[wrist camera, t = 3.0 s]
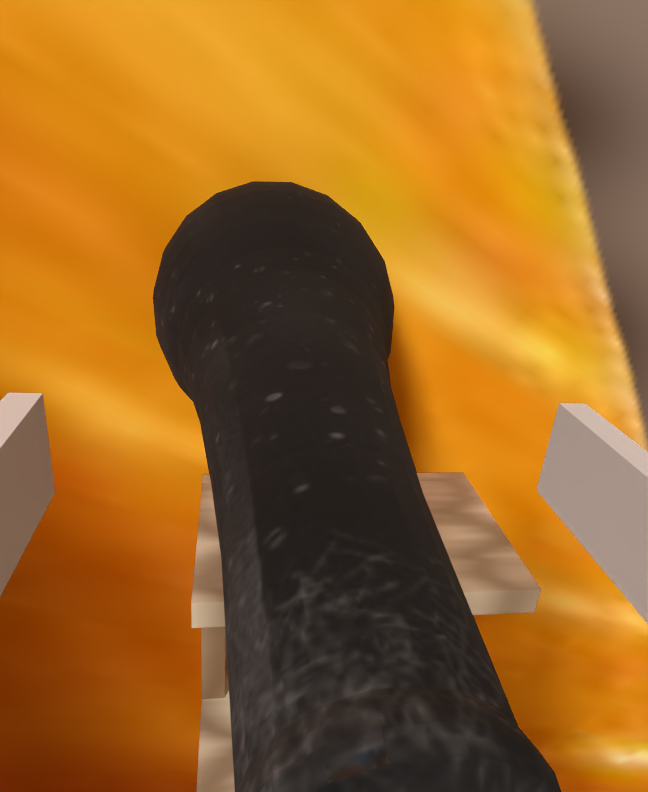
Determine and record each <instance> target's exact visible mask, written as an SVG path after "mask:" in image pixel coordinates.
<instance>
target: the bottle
mask: <svg viewBox="0 0 648 792" xmlns="http://www.w3.org/2000/svg"><path fill="white" fill-rule="evenodd" d="M153 303H154V314H155V325H156V335H157V338H158V341H159V344H160V346H161V349H162V351H163V353H164V355H165V358H166V360H167V362H168V365H169V367H170V369H171V371H172V374H173V376H174V378H175V380H176V381H177V383H178V385H179V386H180V388H181V389H182V390H183V391H184V392H185V393H186V394H187V395H188V397H189V398H190V399H191V400H192V401H193V402H194V405H195V408H196V411H197V414H198V417H199V420H200V424H201V429H202V435H203V441H204V446H205V452H206V458H207V463H208V469H209V474H210V480H211V486H212V494H213V501H214V508H215V515H216V523H217V530H218V537H219V545H220V552H221V561H222V578H223V595H224V613H225V630H226V647H227V665H228V682H229V699H230V717H231V734H232V751H233V769H234V786H235V792H561V790H560V787H559V784H558V781H557V778H556V775H555V773H554V771H553V770H552V768H551V767H550V766H549V764H548V763H547V762H546V760H545V759H544V757H543V756H542V755H541V753H540V752H539V751H538V749H537V748H536V747H535V746H534V745H533V744H532V742H531V741H530V740H529V739H528V738H527V737H526V735H525V734H524V733H523V732H522V731H521V730H520V728H519V727H518V725H517V722H516V720H515V718H514V715H513V713H512V710H511V708H510V705H509V703H508V700H507V698H506V695H505V693H504V691H503V688H502V686H501V683H500V681H499V678H498V676H497V673H496V671H495V668H494V666H493V664H492V661H491V659H490V656H489V654H488V651H487V649H486V646H485V644H484V641H483V639H482V637H481V634H480V632H479V629H478V627H477V624H476V622H475V619H474V617H473V614H472V612H471V610H470V607H469V605H468V602H467V600H466V597H465V595H464V592H463V590H462V587H461V585H460V583H459V580H458V578H457V575H456V573H455V570H454V568H453V565H452V563H451V560H450V558H449V556H448V553H447V551H446V548H445V546H444V543H443V541H442V538H441V536H440V533H439V531H438V529H437V526H436V524H435V521H434V519H433V516H432V514H431V511H430V509H429V506H428V504H427V502H426V499H425V497H424V494H423V491H422V488H421V485H420V482H419V479H418V476H417V472H416V469H415V466H414V463H413V460H412V457H411V454H410V450H409V447H408V444H407V441H406V438H405V435H404V432H403V428H402V425H401V422H400V418H399V415H398V411H397V408H396V404H395V400H394V397H393V393H392V389H391V384H390V376H389V368H388V357H389V354H390V350H391V340H392V328H393V316H394V300H393V294H392V290H391V286H390V282H389V278H388V274H387V269H386V265H385V261H384V260H383V258H382V256H381V255H380V253H379V251H378V250H377V248H376V247H375V245H374V243H373V242H372V240H371V239H370V237H369V236H368V234H367V232H366V231H365V229H364V228H363V226H362V224H361V223H360V222H359V221H358V220H357V219H356V218H354V217H353V216H352V215H351V214H349V213H348V212H347V211H346V210H345V209H343V208H342V207H341V206H340V205H338V204H337V203H336V202H335V201H333V200H332V199H331V198H330V197H329V196H327V195H325V194H322V193H319V192H316V191H314V190H311V189H308V188H306V187H303V186H300V185H298V184H295V183H292V182H250V183H247V184H244V185H241V186H238V187H235V188H232V189H228V190H225V191H222V192H219V193H216V194H215V195H214V196H212V197H211V198H210V199H208V200H207V201H206V202H204V203H203V204H202V205H200V206H199V207H198V208H197V209H195V210H194V211H193V212H191V213H190V214H189V215H187V216H186V217H185V219H184V220H183V222H182V223H181V225H180V226H179V228H178V229H177V231H176V232H175V234H174V235H173V237H172V238H171V240H170V242H169V243H168V245H167V246H166V248H165V250H164V252H163V255H162V259H161V263H160V267H159V271H158V275H157V279H156V283H155V287H154V294H153Z"/></svg>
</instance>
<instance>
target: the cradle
mask: <svg viewBox="0 0 648 792" xmlns="http://www.w3.org/2000/svg"><path fill="white" fill-rule="evenodd" d="M417 476H418V479H419V482H420V485H421V488H422V491H423V494H424V497H425V499H426V502H427V504H428V506H429V509H430V511H431V514H432V516H433V519H434V521H435V524H436V526H437V529H438V531H439V533H440V536H441V538H442V541H443V543H444V546H445V548H446V551H447V553H448V556H449V558H450V560H451V563H452V565H453V568H454V570H455V573H456V575H457V578H458V580H459V583H460V585H461V587H462V590H463V592H464V595H465V597H466V600H467V602H468V605H469V607H470V610H471V612H472V614H473V615H485V614H507V613H529V612H535V609H536V605H537V602H538V598H539V595H540V592H541V588H540V587H539V585H538V584H537V582H536V581H535V579H534V578H533V576H532V575H531V573H530V572H529V570H528V569H527V567H526V566H525V564H524V563H523V561H522V560H521V558H520V557H519V555H518V554H517V552H516V551H515V549H514V548H513V546H512V545H511V543H510V542H509V540H508V539H507V537H506V536H505V534H504V533H503V531H502V530H501V528H500V527H499V525H498V524H497V522H496V521H495V519H494V518H493V516H492V515H491V513H490V512H489V510H488V509H487V507H486V506H485V504H484V503H483V501H482V500H481V498H480V497H479V495H478V494H477V492H476V491H475V489H474V488H473V487H472V485H471V484H470V482H469V481H468V479H467V478H466V476H465V475H464V473H417ZM191 612H192V628H201V652H202V706H201V723H200V740H199V757H198V774H197V791H196V792H235V786H234V769H233V751H232V734H231V717H230V699H229V682H228V665H227V647H226V630H225V613H224V595H223V578H222V561H221V552H220V545H219V537H218V530H217V523H216V515H215V508H214V501H213V494H212V486H211V480H210V474H203V483H202V494H201V505H200V515H199V526H198V537H197V548H196V558H195V569H194V580H193V591H192V601H191Z"/></svg>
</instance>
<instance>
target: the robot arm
mask: <svg viewBox="0 0 648 792" xmlns="http://www.w3.org/2000/svg"><path fill="white" fill-rule="evenodd" d="M537 491H538V493H539V494H540V495H541V496H542V497H543V499H544V500H545V501H546V502H547V503H548V505H549V506H550V507H551V508H552V509H553V511H554V512H555V513H556V514H557V515H558V517H559V518H560V519H561V520H562V521H563V523H564V524H565V525H566V526H567V527H568V529H569V530H570V531H571V532H572V533H573V535H574V536H575V537H576V538H577V539H578V541H579V542H580V543H581V544H582V545H583V547H584V548H585V549H586V550H587V551H588V553H589V554H590V555H591V556H592V557H593V559H594V560H595V561H596V562H597V563H598V565H599V566H600V567H601V568H602V569H603V571H604V572H605V573H606V574H607V575H608V577H609V578H610V579H611V580H612V581H613V583H614V584H615V585H616V586H617V587H618V589H619V590H620V591H621V592H622V593H623V595H624V596H625V597H626V598H627V599H628V601H629V602H630V603H631V604H632V605H633V607H634V608H635V609H636V610H637V611H638V613H639V614H640V615H641V616H642V617H643V619H644V620H645V621H646V622H647V623H648V452H647V451H646V450H644V449H643V448H642V447H641V446H639V445H638V444H637V443H635V442H634V441H633V440H632V439H630V438H629V437H628V436H626V435H625V434H624V433H623V432H621V431H620V430H619V429H617V428H616V427H615V426H613V425H612V424H611V423H610V422H608V421H607V420H606V419H604V418H603V417H602V416H601V415H599V414H598V413H597V412H595V411H594V410H593V409H592V408H590V407H589V406H588V405H586V404H578V403H559V406H558V409H557V413H556V417H555V421H554V425H553V429H552V433H551V436H550V440H549V444H548V448H547V452H546V456H545V460H544V463H543V467H542V471H541V475H540V479H539V483H538V487H537ZM54 493H55V489H54V481H53V473H52V465H51V456H50V448H49V440H48V432H47V424H46V416H45V408H44V400H43V393H7V394H6V396H5V397H4V398H3V399H2V400H1V401H0V596H1V594H2V593H3V591H4V589H5V587H6V585H7V583H8V581H9V579H10V577H11V575H12V573H13V572H14V570H15V568H16V566H17V564H18V562H19V560H20V558H21V556H22V554H23V553H24V551H25V549H26V547H27V545H28V543H29V541H30V539H31V537H32V535H33V533H34V532H35V530H36V528H37V526H38V524H39V522H40V520H41V518H42V516H43V514H44V513H45V511H46V509H47V507H48V505H49V503H50V501H51V499H52V497H53V495H54Z"/></svg>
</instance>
